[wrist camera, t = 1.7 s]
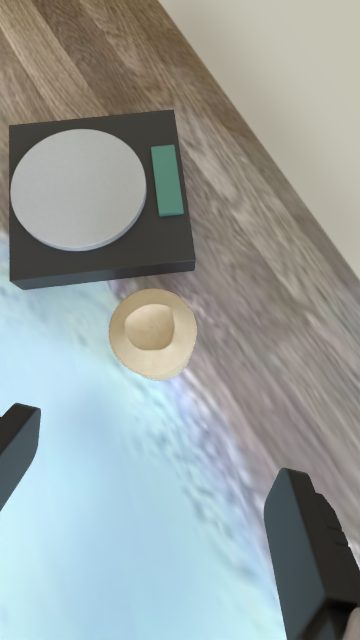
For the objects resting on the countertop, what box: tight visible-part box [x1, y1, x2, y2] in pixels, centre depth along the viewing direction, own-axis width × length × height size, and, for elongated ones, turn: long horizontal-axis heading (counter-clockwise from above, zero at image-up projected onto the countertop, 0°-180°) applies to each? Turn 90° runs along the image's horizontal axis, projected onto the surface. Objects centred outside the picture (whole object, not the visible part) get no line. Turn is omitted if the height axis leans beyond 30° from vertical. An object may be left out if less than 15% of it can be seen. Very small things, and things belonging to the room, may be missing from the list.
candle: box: [109, 289, 197, 381], centre depth 23 cm, size 6×6×10 cm
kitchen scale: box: [9, 110, 196, 290], centre depth 30 cm, size 16×16×3 cm
